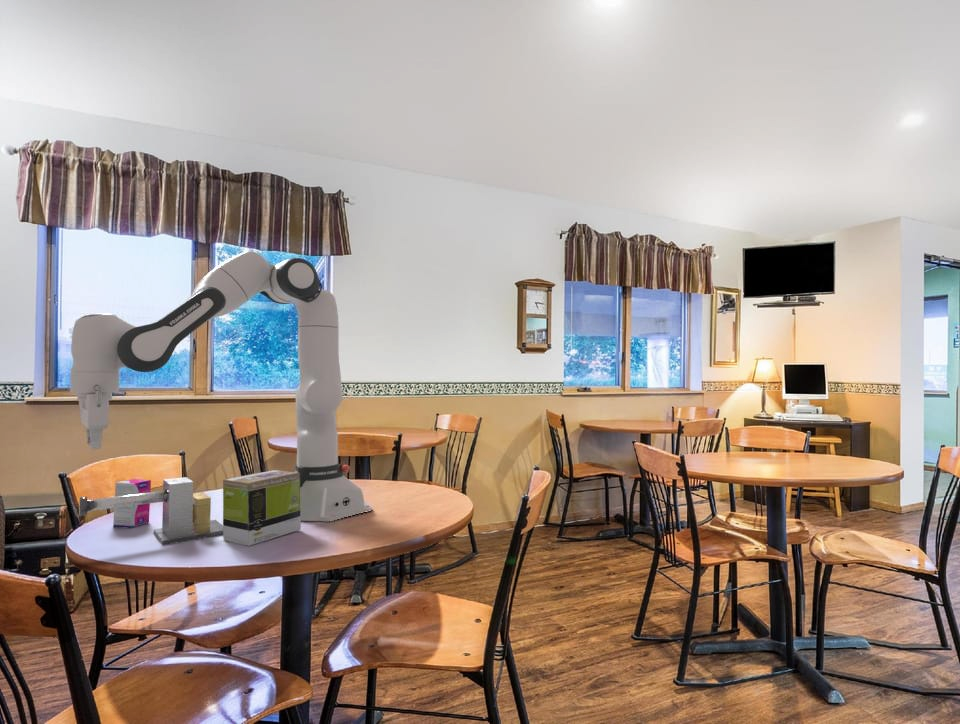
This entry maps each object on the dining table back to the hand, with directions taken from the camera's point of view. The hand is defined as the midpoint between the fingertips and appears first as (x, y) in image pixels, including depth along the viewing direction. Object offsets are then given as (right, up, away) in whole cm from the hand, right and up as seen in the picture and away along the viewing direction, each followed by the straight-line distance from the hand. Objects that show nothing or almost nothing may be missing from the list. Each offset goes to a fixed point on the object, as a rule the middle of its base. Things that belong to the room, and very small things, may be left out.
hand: (93, 447), depth 116 cm
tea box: (+33, -24, +10) cm, 42 cm away
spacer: (+17, -22, +13) cm, 31 cm away
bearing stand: (+15, -23, +12) cm, 30 cm away
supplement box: (-5, -24, +20) cm, 31 cm away
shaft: (+6, -15, +4) cm, 17 cm away
